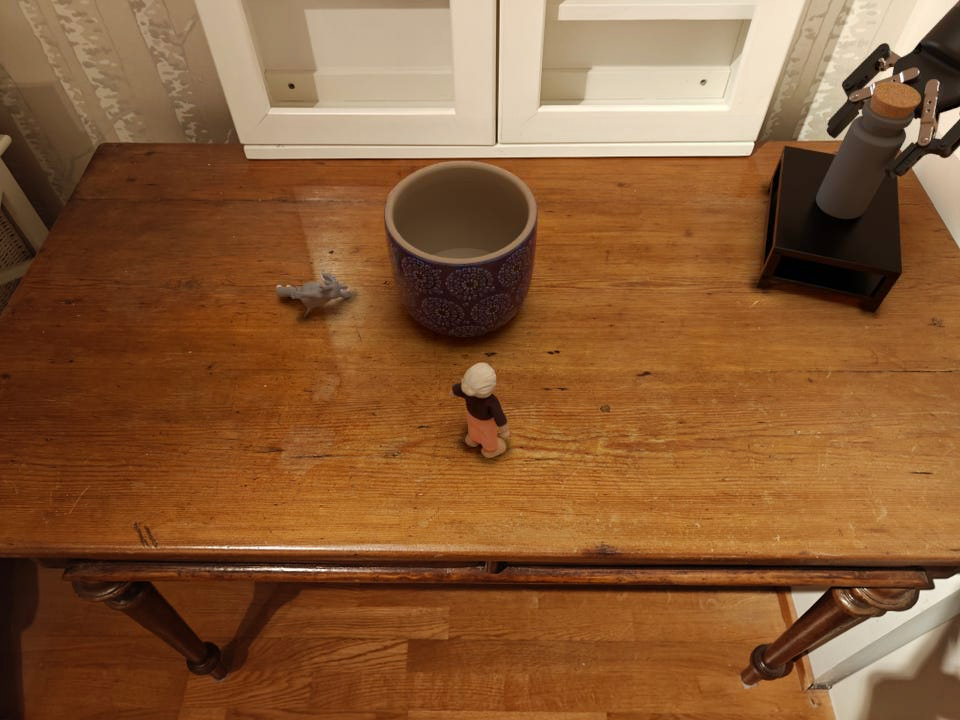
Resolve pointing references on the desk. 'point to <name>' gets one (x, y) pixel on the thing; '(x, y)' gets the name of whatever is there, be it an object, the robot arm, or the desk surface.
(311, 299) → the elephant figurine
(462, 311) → the planter
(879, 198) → the stand
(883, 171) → the bottle
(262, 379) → the desk surface
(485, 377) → the grandmother figurine
